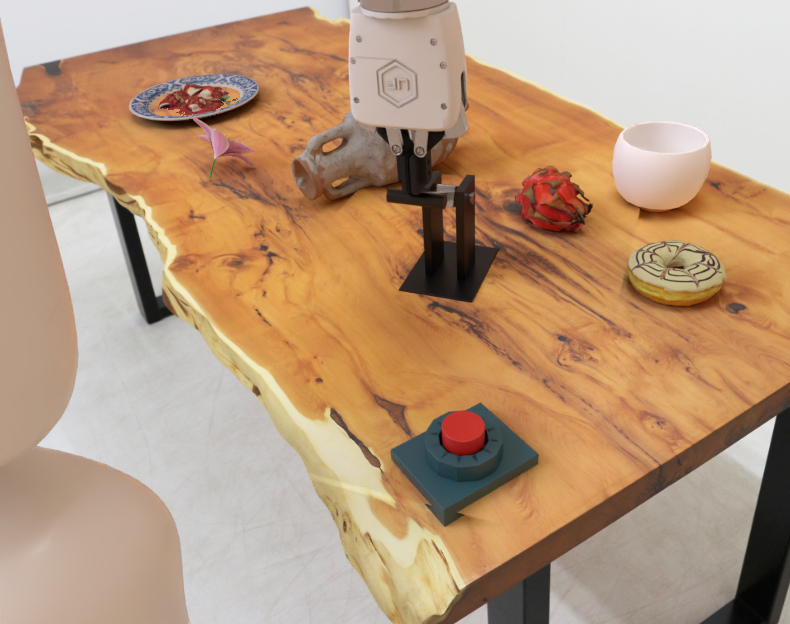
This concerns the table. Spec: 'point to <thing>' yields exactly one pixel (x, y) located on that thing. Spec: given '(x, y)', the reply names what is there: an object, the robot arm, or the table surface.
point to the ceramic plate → (194, 96)
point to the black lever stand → (450, 250)
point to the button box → (462, 465)
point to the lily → (223, 144)
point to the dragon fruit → (552, 200)
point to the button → (463, 433)
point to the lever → (425, 197)
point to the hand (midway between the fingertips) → (415, 187)
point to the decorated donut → (675, 273)
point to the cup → (660, 164)
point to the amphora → (352, 160)
